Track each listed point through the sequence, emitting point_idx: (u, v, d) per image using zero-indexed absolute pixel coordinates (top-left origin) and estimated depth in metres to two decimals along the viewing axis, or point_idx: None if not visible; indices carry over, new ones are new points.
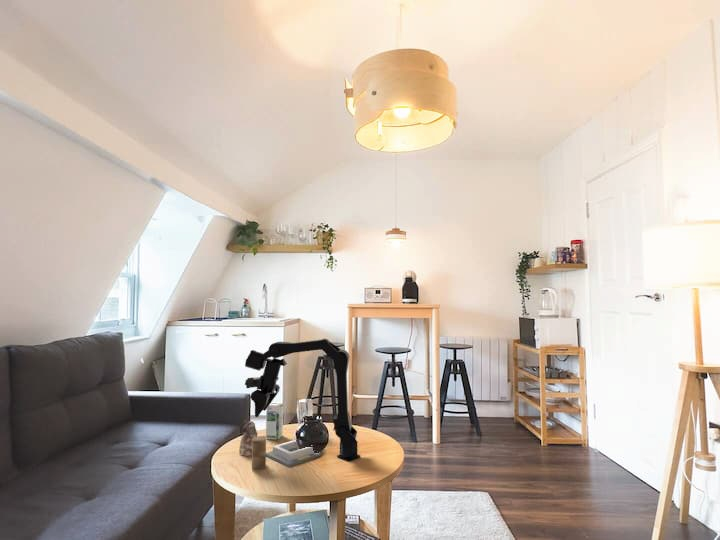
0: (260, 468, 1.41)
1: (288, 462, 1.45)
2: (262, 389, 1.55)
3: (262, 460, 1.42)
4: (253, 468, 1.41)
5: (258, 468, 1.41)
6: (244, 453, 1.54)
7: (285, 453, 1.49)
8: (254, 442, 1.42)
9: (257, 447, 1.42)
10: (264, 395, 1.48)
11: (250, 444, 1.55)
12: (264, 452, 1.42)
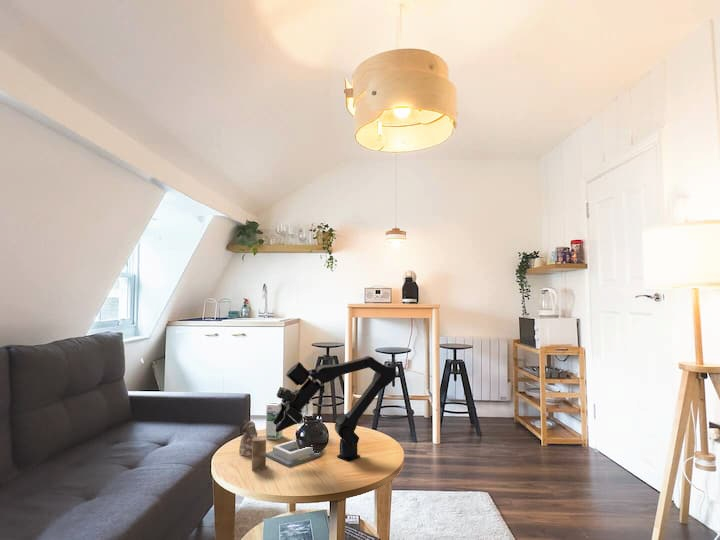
0: (260, 468, 1.41)
1: (288, 462, 1.45)
2: (293, 406, 1.46)
3: (262, 460, 1.42)
4: (253, 468, 1.41)
5: (258, 468, 1.41)
6: (244, 453, 1.54)
7: (285, 453, 1.49)
8: (254, 442, 1.41)
9: (257, 447, 1.42)
10: (301, 416, 1.40)
11: (250, 444, 1.55)
12: (264, 452, 1.42)
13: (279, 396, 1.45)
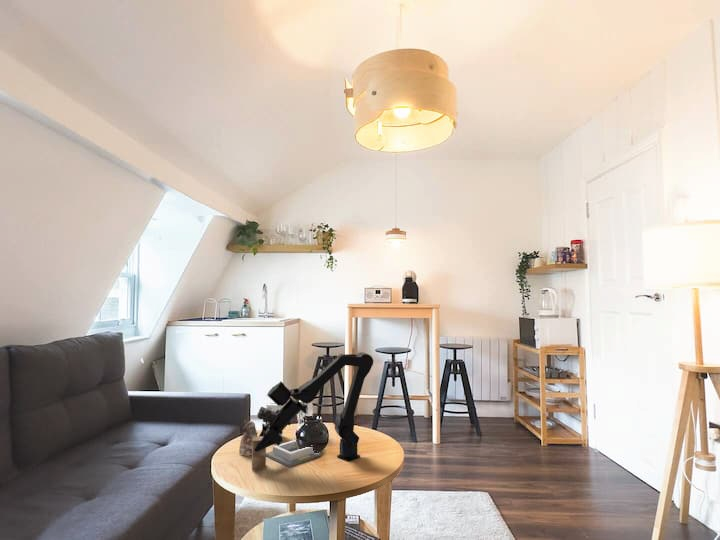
0: (260, 468, 1.41)
1: (288, 462, 1.45)
2: (273, 427, 1.43)
3: (262, 460, 1.42)
4: (253, 468, 1.41)
5: (258, 468, 1.41)
6: (244, 453, 1.54)
7: (285, 453, 1.49)
8: (254, 442, 1.41)
9: None
10: (281, 438, 1.38)
11: (250, 444, 1.55)
12: (264, 452, 1.42)
13: (259, 417, 1.43)
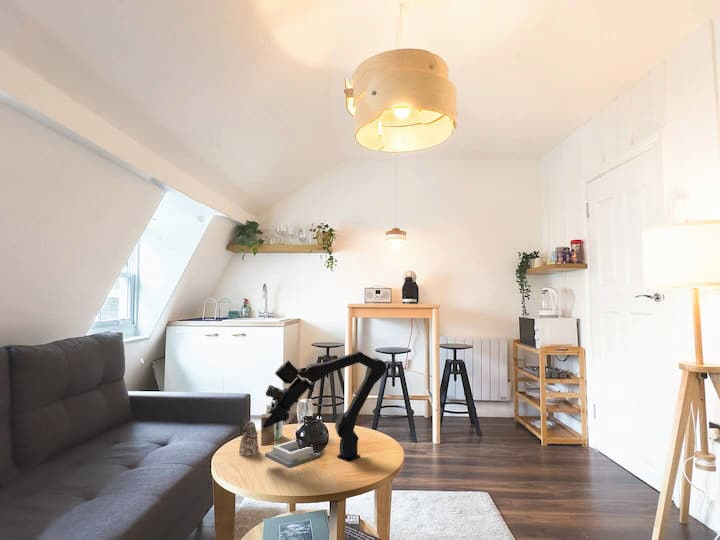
0: (269, 444, 1.45)
1: (288, 462, 1.45)
2: (281, 404, 1.47)
3: (271, 436, 1.45)
4: (262, 444, 1.45)
5: (267, 444, 1.45)
6: (244, 453, 1.54)
7: (285, 453, 1.49)
8: (262, 419, 1.45)
9: None
10: (287, 414, 1.41)
11: (250, 444, 1.55)
12: (272, 428, 1.46)
13: (267, 394, 1.46)
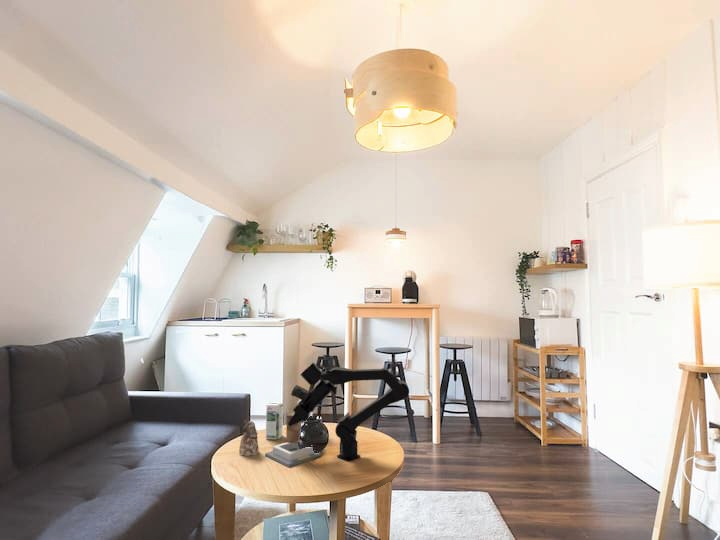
0: (293, 441, 1.52)
1: (288, 462, 1.45)
2: (305, 404, 1.53)
3: (295, 434, 1.52)
4: (287, 440, 1.52)
5: (291, 441, 1.52)
6: (244, 453, 1.54)
7: (285, 453, 1.49)
8: (288, 417, 1.53)
9: None
10: (307, 415, 1.46)
11: (250, 444, 1.55)
12: (297, 427, 1.53)
13: (292, 394, 1.54)
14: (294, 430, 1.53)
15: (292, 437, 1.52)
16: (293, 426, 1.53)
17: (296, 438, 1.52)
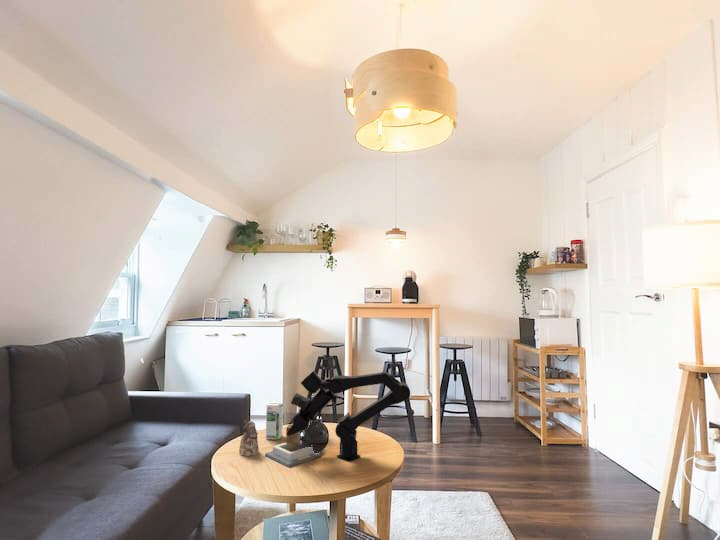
0: None
1: (288, 462, 1.45)
2: (304, 413, 1.52)
3: (295, 446, 1.52)
4: None
5: None
6: (244, 453, 1.54)
7: (285, 453, 1.49)
8: (287, 429, 1.53)
9: None
10: (306, 424, 1.46)
11: (250, 444, 1.55)
12: (296, 439, 1.52)
13: (292, 402, 1.53)
14: (294, 443, 1.52)
15: (292, 450, 1.52)
16: (293, 438, 1.52)
17: None
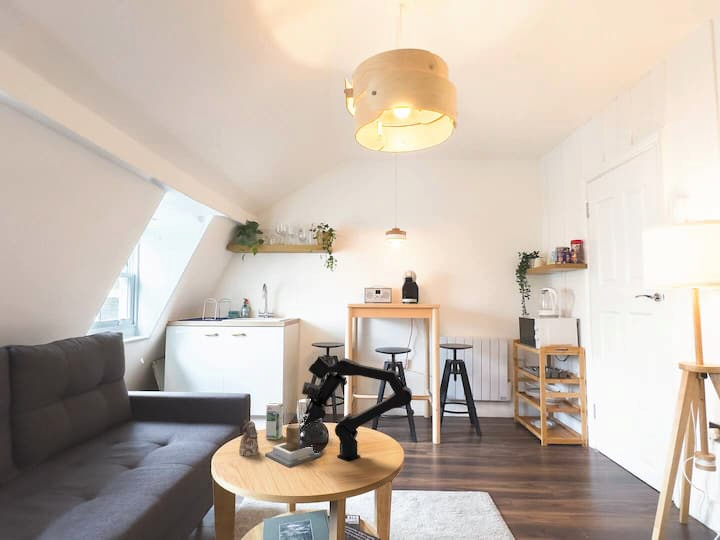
0: None
1: (288, 462, 1.45)
2: (318, 400, 1.54)
3: (295, 446, 1.52)
4: None
5: None
6: (244, 453, 1.54)
7: (285, 453, 1.49)
8: (287, 429, 1.53)
9: (290, 434, 1.53)
10: (324, 412, 1.48)
11: (250, 444, 1.55)
12: (296, 439, 1.52)
13: (303, 392, 1.53)
14: (294, 443, 1.52)
15: (292, 450, 1.52)
16: (293, 438, 1.52)
17: None
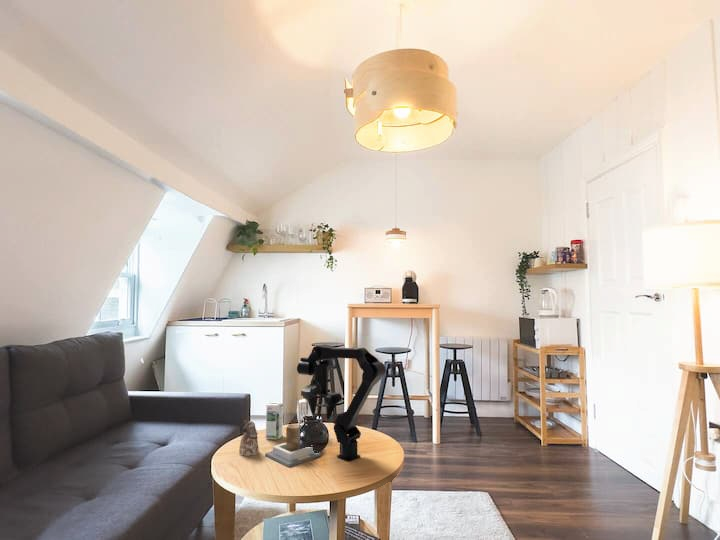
0: None
1: (288, 462, 1.45)
2: (323, 393, 1.59)
3: (295, 446, 1.52)
4: None
5: None
6: (244, 453, 1.54)
7: (285, 453, 1.49)
8: (287, 429, 1.53)
9: (290, 434, 1.53)
10: (339, 394, 1.57)
11: (250, 444, 1.55)
12: (296, 439, 1.52)
13: (310, 397, 1.55)
14: (294, 443, 1.52)
15: (292, 450, 1.52)
16: (293, 438, 1.52)
17: None
